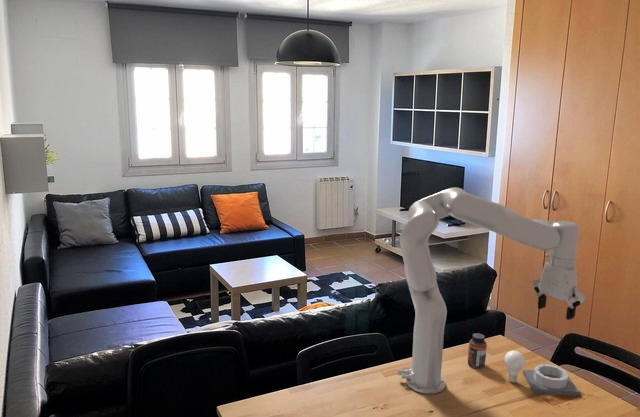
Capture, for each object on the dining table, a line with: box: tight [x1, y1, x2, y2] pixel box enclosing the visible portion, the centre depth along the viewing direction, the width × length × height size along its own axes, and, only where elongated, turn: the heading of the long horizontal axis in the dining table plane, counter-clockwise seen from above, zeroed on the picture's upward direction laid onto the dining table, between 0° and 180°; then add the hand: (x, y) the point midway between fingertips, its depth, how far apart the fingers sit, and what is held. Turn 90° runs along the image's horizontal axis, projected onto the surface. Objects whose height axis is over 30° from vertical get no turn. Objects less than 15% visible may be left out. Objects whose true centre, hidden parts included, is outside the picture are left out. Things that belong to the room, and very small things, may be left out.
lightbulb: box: [503, 349, 526, 383], centre depth 173 cm, size 6×6×11 cm
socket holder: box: [522, 363, 580, 397], centre depth 173 cm, size 14×12×4 cm
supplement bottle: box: [467, 332, 488, 369], centre depth 184 cm, size 6×6×11 cm
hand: (555, 313), depth 165 cm, fingers open, 9 cm apart
